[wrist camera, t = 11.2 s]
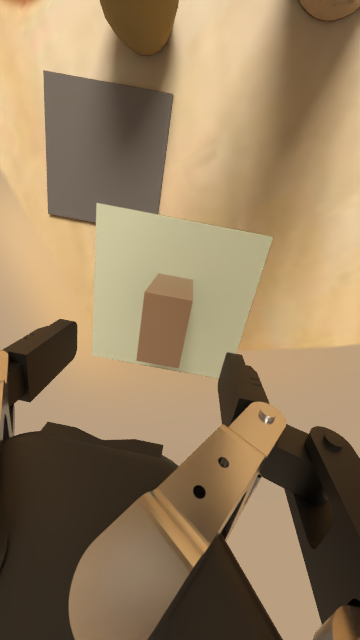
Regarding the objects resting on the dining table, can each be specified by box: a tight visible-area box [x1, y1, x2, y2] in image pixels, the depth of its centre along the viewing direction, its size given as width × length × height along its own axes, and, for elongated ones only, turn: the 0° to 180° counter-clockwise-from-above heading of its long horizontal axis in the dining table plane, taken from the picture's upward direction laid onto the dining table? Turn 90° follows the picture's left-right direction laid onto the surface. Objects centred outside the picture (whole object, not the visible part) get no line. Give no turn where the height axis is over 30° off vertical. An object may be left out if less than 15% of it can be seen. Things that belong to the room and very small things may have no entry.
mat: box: [43, 70, 173, 223], centre depth 30 cm, size 16×16×1 cm
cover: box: [92, 203, 273, 379], centre depth 18 cm, size 14×14×7 cm
